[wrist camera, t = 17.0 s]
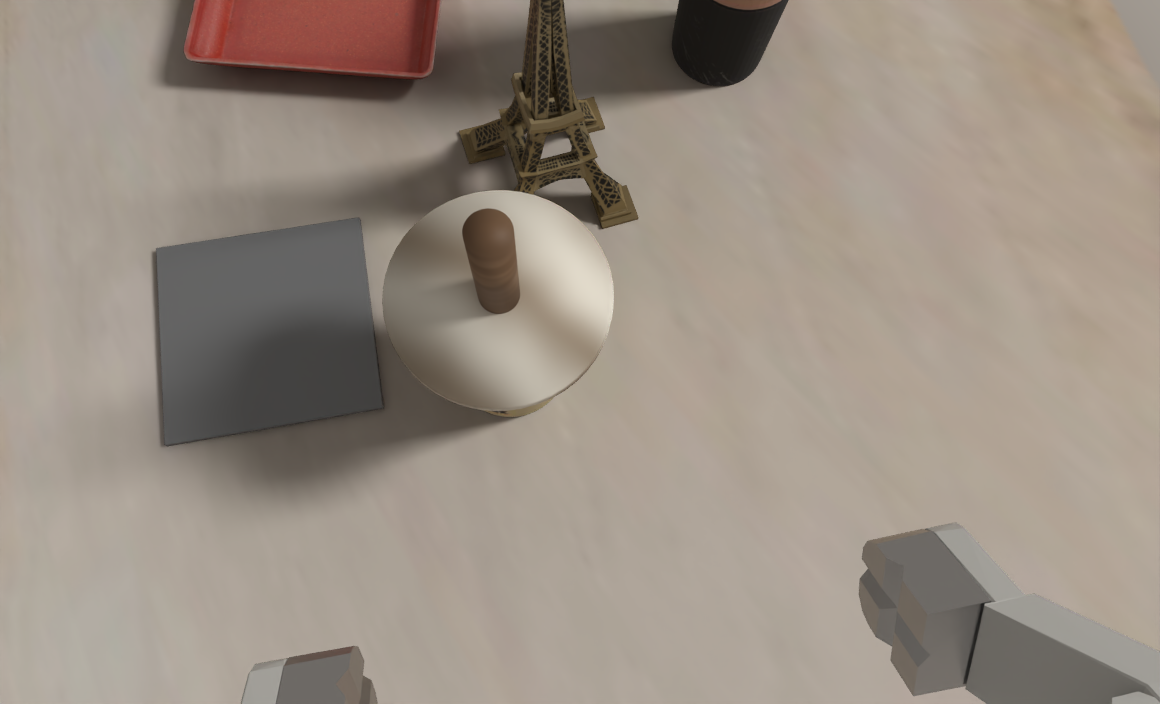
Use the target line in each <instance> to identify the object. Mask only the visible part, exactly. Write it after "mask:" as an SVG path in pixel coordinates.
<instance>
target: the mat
mask: <svg viewBox="0 0 1160 704" xmlns="http://www.w3.org/2000/svg"><path fill="white" fill-rule="evenodd" d="M156 254H157V277H158V301H159V324H160V348H161V372H162V395H163V419H164V443H165V445H166V446H171V445H177V444H183V443H188V442H194V441H200V440H205V439H211V438H217V437H222V436H228V435H234V434H240V433H245V432H251V431H257V430H262V429H268V428H274V427H279V426H285V425H291V424H297V423H302V422H308V421H314V420H319V419H325V418H331V417H336V416H342V415H348V414H354V413H359V412H365V411H371V410H376V409H382V408H384V407H383V399H382V391H381V383H380V375H379V367H378V358H377V350H376V342H375V334H374V326H373V318H372V310H371V302H370V293H369V285H368V277H367V269H366V261H365V253H364V245H363V236H362V228H361V220H360V218H352V219H346V220H339V221H332V222H326V223H319V224H313V225H306V226H299V227H293V228H286V229H280V230H273V231H267V232H260V233H253V234H247V235H240V236H234V237H227V238H221V239H214V240H207V241H201V242H194V243H188V244H181V245H175V246H168V247H161V248H156Z"/></svg>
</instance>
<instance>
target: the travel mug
mask: <svg viewBox="0 0 1160 704" xmlns="http://www.w3.org/2000/svg"><path fill="white" fill-rule="evenodd" d="M787 2H788V0H679V4H678V9H677V15H676V20H675V26H674V32H673V39H672V49H673V54H674V57H675V59H676V61H677V63H678V65H679V66H680V68H681V69H682V70H683V71H684V72H685V73H686V74H687V75H689V76H690V77H692V78H693V79H695V80H697V81H699V82H701V83H704V84H708V85H714V86H726V85H731V84H735V83H738V82H740V81H742V80H744V79H745V78H747V77H748V76H749V75H750V74H751V73H752V72H753V71H754V70H755V68H756V67H757V65H758V63H759V62H760V60H761V58H762V55H763V53H764V51H765V49H766V47H767V45H768V43H769V41H770V39H771V36H772V34H773V32H774V30H775V28H776V26H777V24H778V21H779V19H780V17H781V15H782V13H783V11H784V9H785V6H786V4H787Z"/></svg>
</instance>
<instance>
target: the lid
mask: <svg viewBox="0 0 1160 704" xmlns="http://www.w3.org/2000/svg"><path fill="white" fill-rule="evenodd" d="M382 304H383V315H384V320H385V324H386V329H387V332H388V335H389V337H390V340H391V342H392V345H393V346H394V348H395V350H396V352H397V353H398V355H399V357H400V358H401V360H402V361H403V363H404V364H405V365H406V366H407V368H408V369H409V370H410V372H411V373H412V374H413V375H414V376H415V377H416V378H417V379H418V380H419V381H420V382H421V383H422V384H423V385H425V386H426V387H427V388H429V389H430V390H431V391H433V392H434V393H436V394H437V395H439V396H441V397H443V398H445V399H447V400H449V401H451V402H454V403H456V404H459V405H461V406H465V407H469V408H473V409H478V410H487V411H509V410H516V409H523V408H527V407H530V406H534V405H537V404H540V403H542V402H544V401H547V400H549V399H551V398H553V397H555V396H557V395H558V394H560V393H562V392H563V391H565V390H566V389H568V388H569V387H570V386H571V385H573V384H574V383H575V382H577V381H578V380H579V379H580V378H581V377H582V375H583V374H584V373H585V372H586V371H587V370H588V369H589V368H590V366H591V365H592V364H593V362H594V361H595V360H596V358H597V356H598V354H599V352H600V351H601V349H602V347H603V345H604V342H605V340H606V337H607V334H608V331H609V327H610V323H611V319H612V314H613V305H614V289H613V281H612V275H611V271H610V268H609V265H608V262H607V259H606V257H605V255H604V253H603V251H602V248H601V246H600V245H599V243H598V242H597V240H596V239H595V237H594V236H593V234H592V233H591V232H590V231H589V230H588V229H587V228H586V226H585V225H584V224H583V223H582V222H581V221H579V220H578V219H577V218H576V217H575V216H574V215H573V214H571V213H570V212H568V211H567V210H565V209H564V208H562V207H561V206H559V205H557V204H555V203H553V202H551V201H549V200H547V199H544V198H541V197H538V196H536V195H532V194H527V193H523V192H517V191H508V190H491V191H483V192H476V193H472V194H468V195H464V196H461V197H458V198H456V199H453V200H450V201H448V202H446V203H444V204H442V205H441V206H439V207H437V208H435V209H434V210H432V211H431V212H429V213H428V214H427V215H425V216H424V217H423V218H422V219H420V220H419V221H418V222H417V223H416V224H415V225H414V226H413V227H412V228H411V229H410V230H409V231H408V233H407V234H406V235H405V236H404V238H403V239H402V241H401V242H400V244H399V245H398V246H397V248H396V250H395V252H394V254H393V256H392V258H391V260H390V263H389V266H388V269H387V272H386V275H385V280H384V286H383V299H382Z"/></svg>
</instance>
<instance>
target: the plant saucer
mask: <svg viewBox="0 0 1160 704" xmlns="http://www.w3.org/2000/svg"><path fill="white" fill-rule="evenodd" d="M440 8H441V0H195V1H194V5H193V11H192V14H191V19H190V23H189V27H188V31H187V36H186V40H185V45H184V51H183V52H184V54H185V57H186V58H187V59H188V60H190V61H193V62H198V63H204V64H211V65H220V66H232V67H246V68H261V69H274V70H290V71H303V72H316V73H330V74H344V75H357V76H371V77H383V78H398V79H422V78H425V77H427V76H429V75H430V74H431V72H432V70H433V66H434V57H435V49H436V41H437V32H438V24H439V16H440Z"/></svg>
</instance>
